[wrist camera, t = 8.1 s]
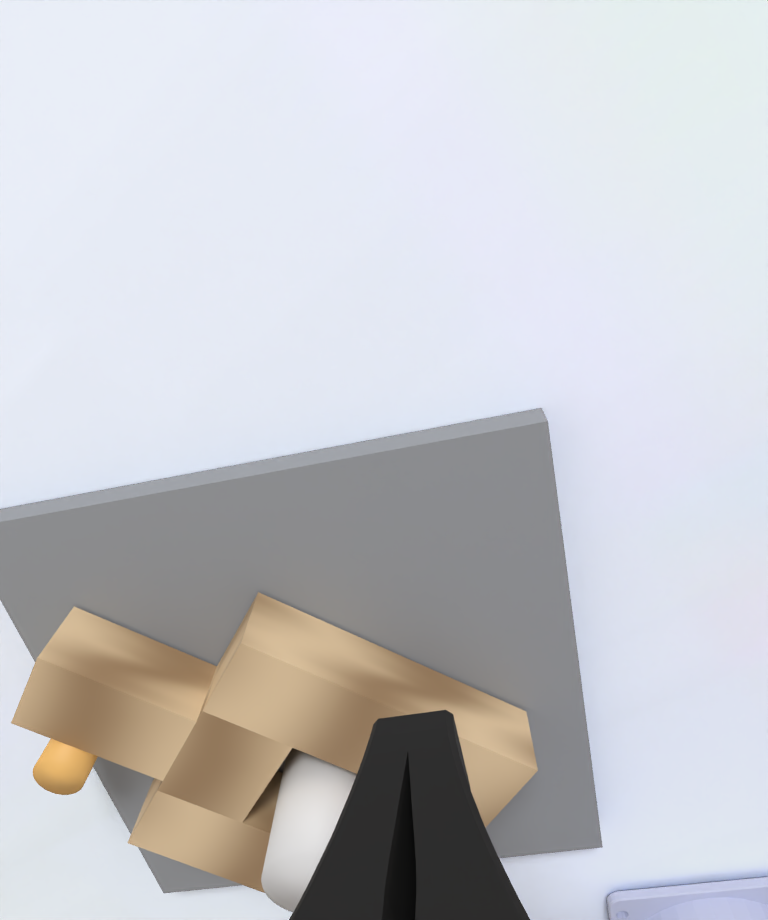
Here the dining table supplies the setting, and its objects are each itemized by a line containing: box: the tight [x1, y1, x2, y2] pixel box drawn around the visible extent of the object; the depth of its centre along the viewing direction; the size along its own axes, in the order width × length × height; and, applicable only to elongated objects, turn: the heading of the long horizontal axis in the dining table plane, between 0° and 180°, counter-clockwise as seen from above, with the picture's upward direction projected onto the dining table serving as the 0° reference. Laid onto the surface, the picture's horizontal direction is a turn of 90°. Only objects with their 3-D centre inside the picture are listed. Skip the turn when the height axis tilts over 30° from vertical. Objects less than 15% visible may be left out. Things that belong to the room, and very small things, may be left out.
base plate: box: [0, 408, 602, 912], centre depth 22 cm, size 18×18×6 cm
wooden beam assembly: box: [11, 592, 538, 893], centre depth 23 cm, size 15×10×2 cm, turn 62°
